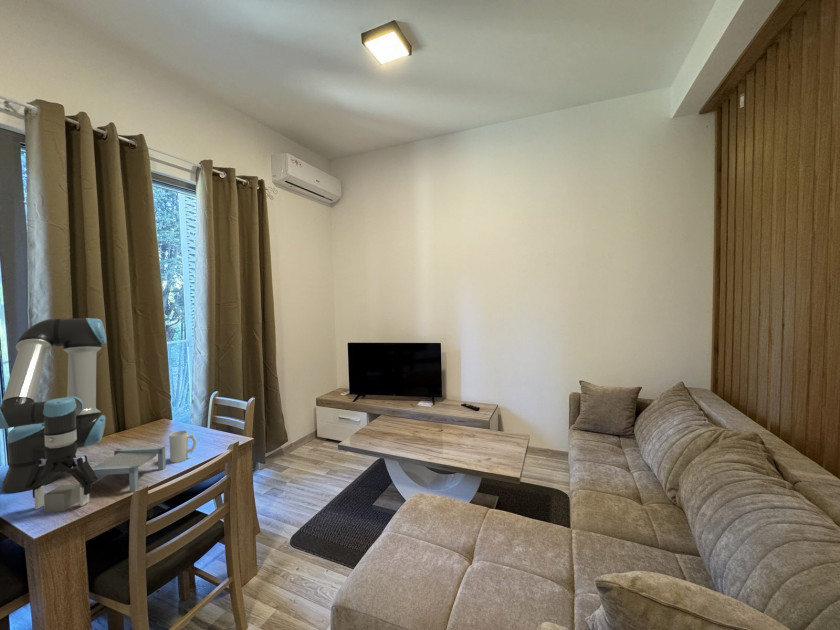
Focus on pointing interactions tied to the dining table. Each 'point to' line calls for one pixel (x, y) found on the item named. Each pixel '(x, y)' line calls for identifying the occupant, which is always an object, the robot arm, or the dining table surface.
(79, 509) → the dining table surface
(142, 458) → the trapdoor
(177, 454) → the mug
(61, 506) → the stone
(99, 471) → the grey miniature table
